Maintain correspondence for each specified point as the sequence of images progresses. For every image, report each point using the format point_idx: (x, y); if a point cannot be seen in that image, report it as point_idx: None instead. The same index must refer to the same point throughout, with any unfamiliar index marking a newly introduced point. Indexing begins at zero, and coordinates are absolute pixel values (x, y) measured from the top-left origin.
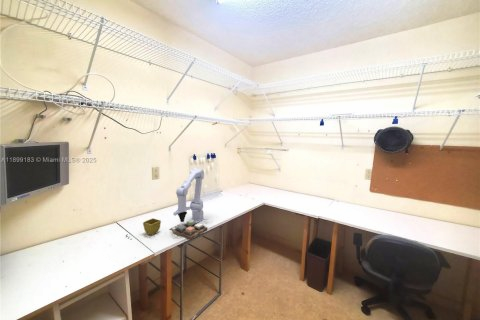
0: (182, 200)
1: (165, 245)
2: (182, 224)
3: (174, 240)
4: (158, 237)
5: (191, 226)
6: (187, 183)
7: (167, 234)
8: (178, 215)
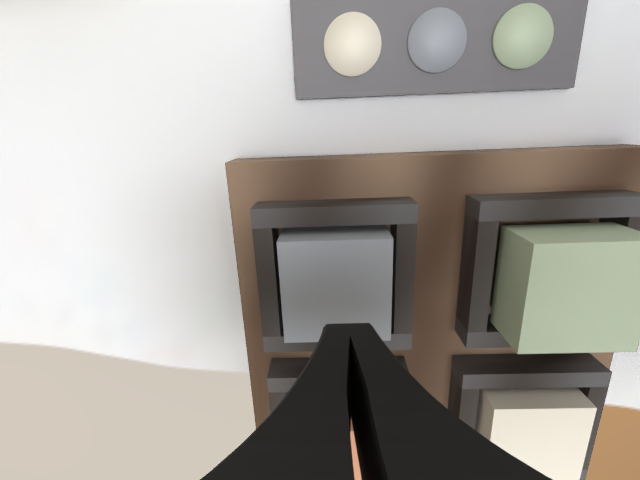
0: None
1: (14, 326)
2: (554, 48)
3: (144, 325)
4: (27, 87)
5: (480, 341)
6: None
7: (169, 123)
8: (233, 462)
